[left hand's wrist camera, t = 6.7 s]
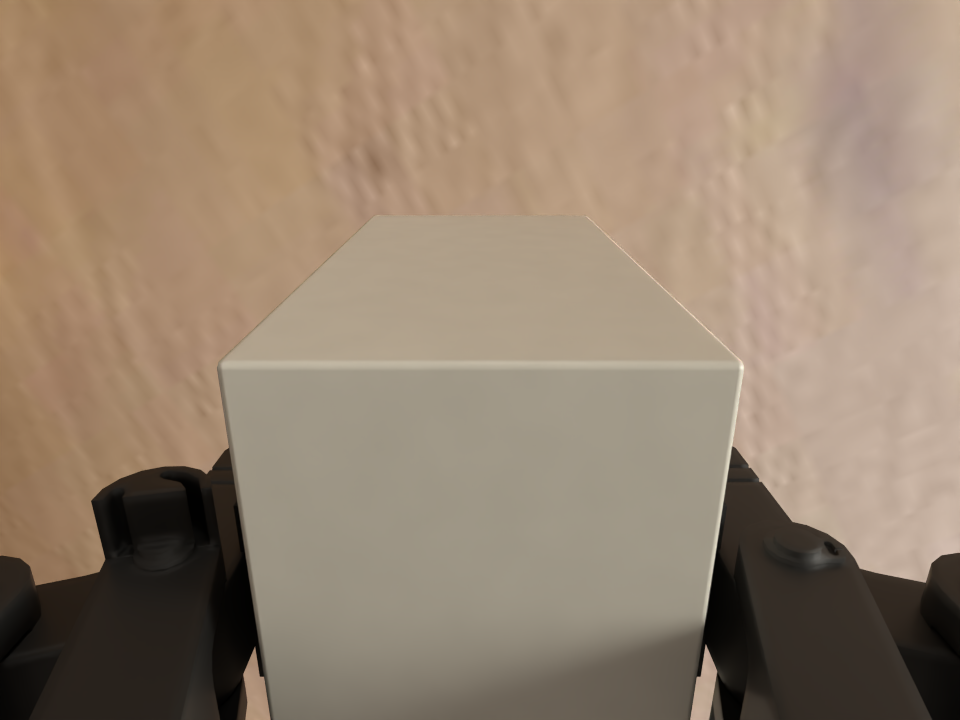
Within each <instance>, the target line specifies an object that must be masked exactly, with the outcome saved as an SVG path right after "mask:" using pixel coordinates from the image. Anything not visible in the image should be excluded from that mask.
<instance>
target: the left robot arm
mask: <svg viewBox="0 0 960 720" xmlns="http://www.w3.org/2000/svg"><path fill="white" fill-rule="evenodd" d="M212 468H213V469H212V470H210V471H209V472H208V474H205V473H204V472H203V471H201V470H199V469H194V468H190V467H186V466H173V467H160V468H154V469H149V470H144V471H140V472H137V473H135V474H132V475H129V476H126V477H124V478H121V479H119V480H117V481H115V482H114V483H112V484H110V485H109V486H107V487H105V488H103V489H102V490H101V491H100V492H99V493H98V494H97V495H96V496H95V497H94V499H93V500H92V501H91V502H92V506H93V510H94V515H95V519H96V523H97V527H98V531H99V535H100V539H101V543H102V547H103V551H104V555H105V559H106V560H105V562H104V564H103V566H102V568H101V570H100V572H98V573H94V574H90V575H86V576H82V577H77V578H72V579H67V580H62V581H57V582H52V583H47V584H42V585H37V586H35V582H34V579H33V576H32V572H31V569H30V566H29V565H28V564H26V563H25V562H24V561H23V560H21V559H20V558H14V557H7V556H0V720H245V717H246V709H247V696H246V689H245V683H244V677H243V673H244V671H245V669H246V666H247V664H248V661H249V659H250V657H251V654H252V652H253V650H254V647H255V648H256V654H257V661H258V667H259V674H260V677H264V672H263V666H262V659H261V653H260V646H259V639H258V633H257V626H256V620H255V613H254V607H253V600H252V594H251V587H250V581H249V574H248V568H247V561H246V554H245V548H244V541H243V535H242V528H241V522H240V515H239V509H238V502H237V496H236V489H235V482H234V476H233V469H232V463H231V456H230V450H229V448H228V449H227V450H225V451H224V453H223V454H222V455H221V456H220V458H219V459H218V460H217V462H216V463H215V464H214V466H213V467H212ZM705 645H707V648H708V650H709V652H710V655H711V657H712V659H713V662H714V664H715V666H716V669H717V677H716V683H715V689H714V695H713V701H712V707H711V713H710V719H709V720H960V553H955V554H948V555H942V556H940V557H939V558H938V559H936V560H935V561H934V562H933V563H932V564H931V567H930V571H929V574H928V578H927V581H926V583H923V582H918V581H913V580H908V579H903V578H898V577H893V576H888V575H883V574H878V573H874V572H870V571H866V570H862V569H859V567H858V565H857V563H856V560H855V559H854V557H853V556H852V555H851V553H850V552H849V551H848V550H847V548H846V547H845V546H844V545H843V544H841V543H840V542H838V541H837V540H835V539H834V538H832V537H831V536H830V535H828V534H826V533H824V532H821V531H819V530H817V529H814V528H812V527H810V526H807V525H803V524H799V523H794V522H792V521H791V520H790V518H789V517H788V516H787V514H786V513H785V512H784V511H783V509H782V508H781V507H780V505H779V504H778V503H777V501H776V500H775V499H774V498H773V496H772V495H771V494H770V492H769V491H768V490H767V488H766V487H765V486H764V485H763V483H762V482H759V478H758V477H757V475H756V474H755V473H754V471H753V470H752V469H751V468H748V464H747V462H746V461H745V460H744V458H743V457H742V456H741V455H740V453H739V452H738V451H737V449H736V448H734V447H733V446H732V450H731V456H730V463H729V469H728V476H727V482H726V489H725V495H724V502H723V508H722V515H721V521H720V528H719V534H718V541H717V547H716V554H715V560H714V567H713V573H712V580H711V586H710V593H709V599H708V606H707V612H706V619H705V626H704V632H703V639H702V645H701V652H700V658H699V665H698V671H697V677H700V676H701V670H702V664H703V657H704V651H705Z"/></svg>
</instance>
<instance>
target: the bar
mask: <svg viewBox="0 0 960 720" xmlns="http://www.w3.org/2000/svg"><path fill="white" fill-rule="evenodd" d="M217 371H218V378H219V384H220V391H221V397H222V404H223V410H224V417H225V424H226V430H227V437H228V443H229V450H230V456H231V463H232V469H233V476H234V482H235V489H236V496H237V502H238V509H239V515H240V522H241V528H242V535H243V541H244V548H245V554H246V561H247V568H248V574H249V581H250V587H251V594H252V600H253V607H254V613H255V620H256V626H257V633H258V639H259V646H260V653H261V659H262V666H263V672H264V679H265V685H266V692H267V698H268V705H269V711H270V718H271V720H690V717H691V710H692V704H693V697H694V691H695V684H696V678H697V671H698V665H699V658H700V652H701V645H702V639H703V632H704V626H705V619H706V612H707V606H708V599H709V593H710V586H711V580H712V573H713V567H714V560H715V554H716V547H717V541H718V534H719V528H720V521H721V515H722V508H723V502H724V495H725V489H726V482H727V476H728V469H729V463H730V456H731V450H732V443H733V437H734V430H735V424H736V417H737V411H738V404H739V398H740V391H741V385H742V378H743V372H744V366H743V363H742V361H741V360H740V359H739V358H738V357H737V356H736V355H735V354H733V353H732V352H731V351H730V350H729V349H728V348H727V347H726V346H725V345H724V344H723V343H722V342H721V341H720V340H719V339H717V338H716V337H715V336H714V335H713V334H712V333H711V332H710V331H709V330H708V329H707V328H706V327H705V326H704V325H702V324H701V323H700V322H699V321H698V320H697V319H696V318H695V317H694V316H693V315H692V314H691V313H690V312H689V311H688V310H686V309H685V308H684V307H683V306H682V305H681V304H680V303H679V302H678V301H677V300H676V299H675V298H674V297H673V296H672V295H670V294H669V293H668V292H667V291H666V290H665V289H664V288H663V287H662V286H661V285H660V284H659V283H658V282H657V281H656V280H654V279H653V278H652V277H651V276H650V275H649V274H648V273H647V272H646V271H645V270H644V269H643V268H642V267H641V266H640V265H638V264H637V263H636V262H635V261H634V260H633V259H632V258H631V257H630V256H629V255H628V254H627V253H626V252H625V251H624V250H622V249H621V248H620V247H619V246H618V245H617V244H616V243H615V242H614V241H613V240H612V239H611V238H610V237H609V236H608V235H606V234H605V233H604V232H603V231H602V230H601V229H600V228H599V227H598V226H597V225H596V224H595V223H594V222H593V221H592V220H590V219H589V218H588V217H587V216H585V215H375V216H373V217H372V218H371V219H370V220H369V221H368V222H367V223H366V224H365V225H363V226H362V227H361V228H360V229H359V230H358V231H357V232H356V233H355V234H354V235H353V236H352V237H351V238H350V239H349V240H348V241H346V242H345V243H344V244H343V245H342V246H341V247H340V248H339V249H338V250H337V251H336V252H335V253H334V254H333V255H332V256H331V257H330V258H328V259H327V260H326V261H325V262H324V263H323V264H322V265H321V266H320V267H319V268H318V269H317V270H316V271H315V272H314V273H313V274H311V275H310V276H309V277H308V278H307V279H306V280H305V281H304V282H303V283H302V284H301V285H300V286H299V287H298V288H297V289H296V290H294V291H293V292H292V293H291V294H290V295H289V296H288V297H287V298H286V299H285V300H284V301H283V302H282V303H281V304H280V305H279V306H277V307H276V308H275V309H274V310H273V311H272V312H271V313H270V314H269V315H268V316H267V317H266V318H265V319H264V320H263V321H262V322H260V323H259V324H258V325H257V326H256V327H255V328H254V329H253V330H252V331H251V332H250V333H249V334H248V335H247V336H246V337H245V338H243V339H242V340H241V341H240V342H239V343H238V344H237V345H236V346H235V347H234V348H233V349H232V350H231V351H230V352H229V353H228V354H226V355H225V356H224V357H223V358H222V359H221V360H220V361H219V363H218V366H217Z"/></svg>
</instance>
